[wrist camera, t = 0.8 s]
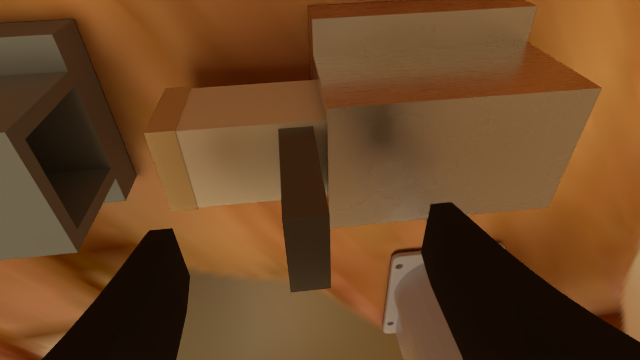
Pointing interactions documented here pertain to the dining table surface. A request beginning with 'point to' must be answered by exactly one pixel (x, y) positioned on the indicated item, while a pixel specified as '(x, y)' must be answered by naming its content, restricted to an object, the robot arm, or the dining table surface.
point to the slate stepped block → (53, 141)
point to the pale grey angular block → (251, 160)
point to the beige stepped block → (441, 108)
